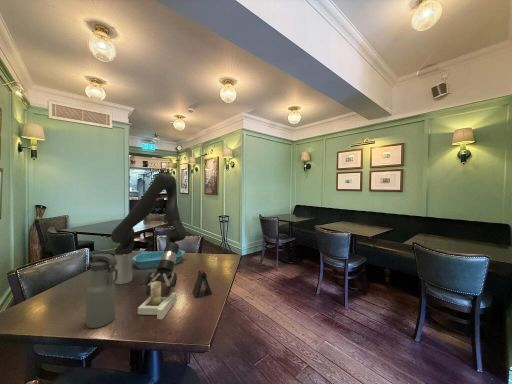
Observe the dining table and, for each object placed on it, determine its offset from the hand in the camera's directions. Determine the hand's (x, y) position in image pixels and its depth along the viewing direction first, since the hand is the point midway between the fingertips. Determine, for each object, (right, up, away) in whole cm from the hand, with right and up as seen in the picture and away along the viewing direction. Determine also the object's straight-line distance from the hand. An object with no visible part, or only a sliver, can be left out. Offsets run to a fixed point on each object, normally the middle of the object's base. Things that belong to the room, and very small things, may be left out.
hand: (156, 295), depth 97 cm
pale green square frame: (-1, -7, +1) cm, 7 cm away
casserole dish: (-28, -7, +64) cm, 70 cm away
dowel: (-1, -7, +1) cm, 7 cm away
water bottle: (-19, -7, -9) cm, 22 cm away
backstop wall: (+5, -7, +1) cm, 8 cm away
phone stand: (+17, -7, +16) cm, 24 cm away
